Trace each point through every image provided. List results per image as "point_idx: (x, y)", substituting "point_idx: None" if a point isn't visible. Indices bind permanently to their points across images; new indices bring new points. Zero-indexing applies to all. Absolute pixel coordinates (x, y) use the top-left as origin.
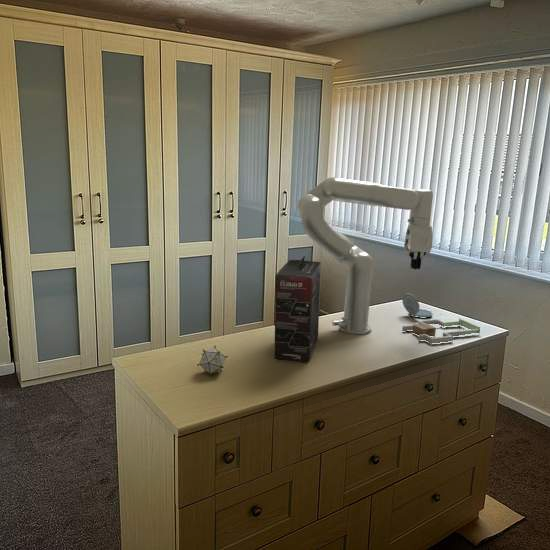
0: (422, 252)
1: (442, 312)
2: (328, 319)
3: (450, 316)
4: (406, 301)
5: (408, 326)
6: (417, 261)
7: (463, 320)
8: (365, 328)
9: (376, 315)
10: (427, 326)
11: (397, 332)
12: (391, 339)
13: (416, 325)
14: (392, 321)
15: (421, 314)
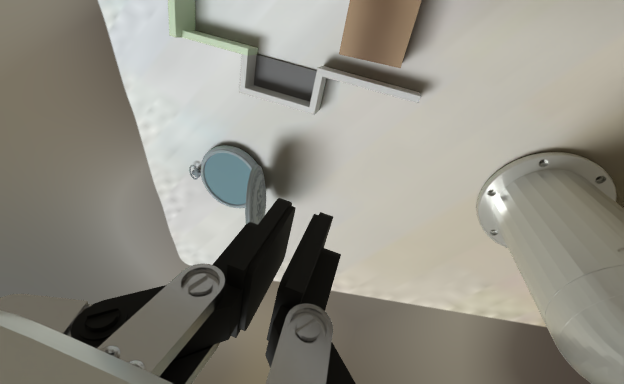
0: (137, 353)
1: (158, 159)
2: (507, 298)
3: (158, 123)
4: (262, 218)
5: (398, 90)
6: (289, 265)
7: (175, 9)
8: (549, 171)
9: (347, 242)
10: (370, 14)
11: (436, 104)
12: (540, 55)
13: (400, 51)
14: (350, 186)
15: (239, 166)
